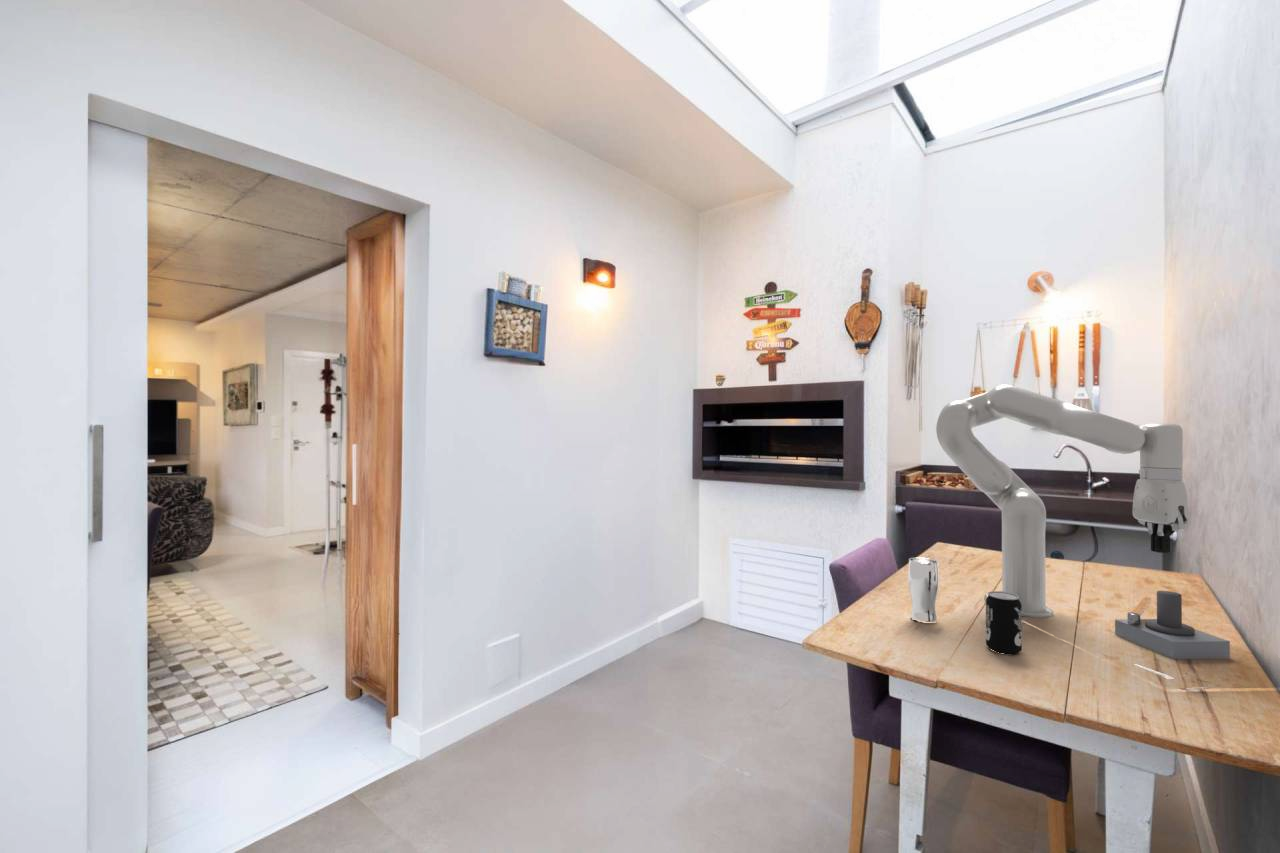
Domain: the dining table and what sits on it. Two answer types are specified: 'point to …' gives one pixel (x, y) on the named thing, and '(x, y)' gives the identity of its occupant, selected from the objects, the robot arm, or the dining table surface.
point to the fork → (1169, 678)
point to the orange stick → (1138, 611)
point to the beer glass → (923, 588)
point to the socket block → (1174, 642)
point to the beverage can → (1004, 622)
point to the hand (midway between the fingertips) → (1160, 551)
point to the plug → (1169, 615)
